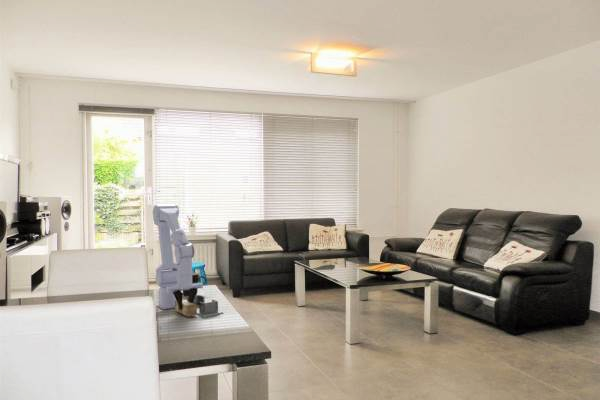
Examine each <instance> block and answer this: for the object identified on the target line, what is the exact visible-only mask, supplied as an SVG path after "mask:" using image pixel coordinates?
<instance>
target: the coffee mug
mask: <svg viewBox="0 0 600 400" xmlns="http://www.w3.org/2000/svg"><path fill="white" fill-rule="evenodd" d="M200 278H203V279H204V282H203V286H204V285H205V284H206V282H207V278H206V277H205V276H203V275H202V276H199V273H198V272H192V284H194V283H199V280H200ZM196 290H198V289H196ZM182 293H183V295H184V296H183V297H188V292H187V290H183V291H182ZM197 294H198V293H197ZM197 294H196V296H198V295H197Z"/></svg>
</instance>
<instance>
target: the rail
mask: <svg viewBox="0 0 600 400" xmlns="http://www.w3.org/2000/svg"><path fill="white" fill-rule="evenodd" d="M182 306H183V307H182V310H180V309H179V307H178V303H177V300H175V308H174V311H175V312H178V313H180V314H181V315H184V316H186V317H188V318H190V317H193V316H195V317H196V316H198V315H197V305H196V304H193V303H191V302H188V301H187V299H183V298H182Z"/></svg>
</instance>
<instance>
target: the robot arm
mask: <svg viewBox="0 0 600 400" xmlns="http://www.w3.org/2000/svg"><path fill="white" fill-rule="evenodd" d="M152 208H153V209H152V217H153V218H152V219H153V223H154V225H155V226H157V230H158V238H159V239H158V240H159V248H160V258H161V264H160V265H159V266H158V267H157V268H156V269H155V282H156V283H155V284H156V285H157V286H158V287H159V289H158V291H157V297H158V298H157V299H158V303H157V304H156V305H157V307H158V308H160V309H163V310H166V309H167V310H168V309H173V308H174V309H175V300H177V303H178V307H179V309H180V310H182V307H183V306H182V299H183V297H184V296H183V290H187V292H188V296H187V297H188V302H191V303H193V302H194V298H195V296H197V295H196V294H198V290H199V289H204V285H203V283H204V282H203V283H202V282H198V283H194V284H192V273H193V262H192V261H193V260H192V259H193V258H194V256H195V247H194V245H193V244H192V242H190V241H189V240H188V237H187V235H186V233H185V231H184V230H183V229H182V228H181V226H180V223H179V215H180V207H179V206H178V204H177V203H172V204H171V203H170V204H169V203H168V204H166V203H165V204H157V203H156V204H155V205H154V206H153V207H152ZM172 243H173V245H172ZM173 246H174V253H173ZM173 254H174V255H173ZM174 257H175V262H174ZM196 289H197V290H196Z"/></svg>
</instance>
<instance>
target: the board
mask: <svg viewBox="0 0 600 400" xmlns="http://www.w3.org/2000/svg"><path fill="white" fill-rule="evenodd" d="M223 314H224V312H223V311H221V310H219V309H218V312H217V313H211V314H205V315H203V314H201V313H199V308H197V315H196V316H200V317H202V318H207V317H213V316H218V315H223Z"/></svg>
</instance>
